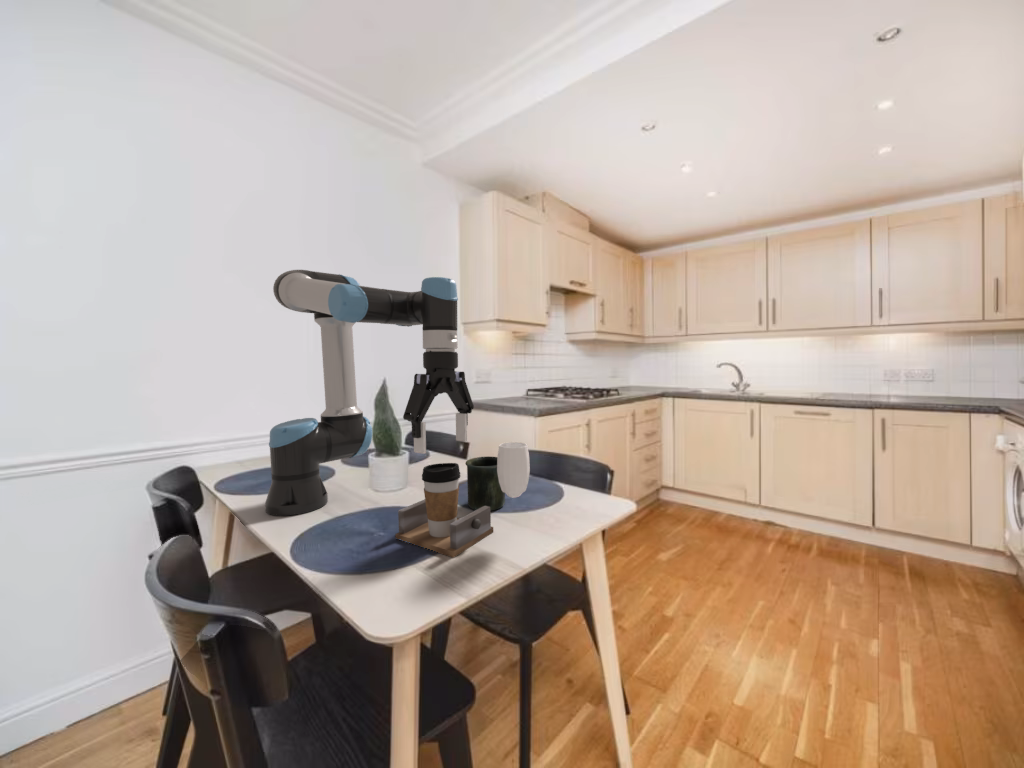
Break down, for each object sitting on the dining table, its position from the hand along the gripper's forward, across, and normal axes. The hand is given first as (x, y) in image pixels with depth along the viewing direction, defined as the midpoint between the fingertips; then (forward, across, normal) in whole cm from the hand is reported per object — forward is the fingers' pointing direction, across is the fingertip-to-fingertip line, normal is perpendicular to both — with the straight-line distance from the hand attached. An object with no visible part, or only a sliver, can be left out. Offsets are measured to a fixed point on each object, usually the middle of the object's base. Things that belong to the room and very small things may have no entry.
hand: (442, 446), depth 92 cm
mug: (+21, +22, +3) cm, 30 cm away
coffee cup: (+19, -1, -1) cm, 19 cm away
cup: (+20, +7, -15) cm, 26 cm away
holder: (+20, 0, -1) cm, 20 cm away
